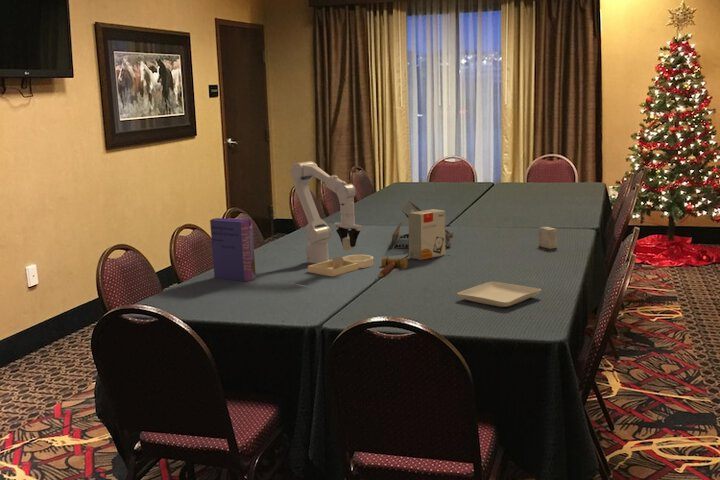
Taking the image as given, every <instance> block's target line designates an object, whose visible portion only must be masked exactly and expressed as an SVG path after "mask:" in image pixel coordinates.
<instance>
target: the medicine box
mask: <svg viewBox="0 0 720 480" xmlns="http://www.w3.org/2000/svg"><path fill="white" fill-rule="evenodd" d="M538 247H541V248H545V249H550V250H552V249H553V250H554V249H557V248H558V229H557V228H553V227H550V226H542V227H539V228H538Z"/></svg>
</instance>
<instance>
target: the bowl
mask: <svg viewBox="0 0 720 480" xmlns="http://www.w3.org/2000/svg"><path fill="white" fill-rule="evenodd" d="M342 258H343V261H345V262H354V263H358V269H366V268H369V267H373V266H374V265H375V264H374V256H373V255H368V254H350V255H345V256H342Z"/></svg>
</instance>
